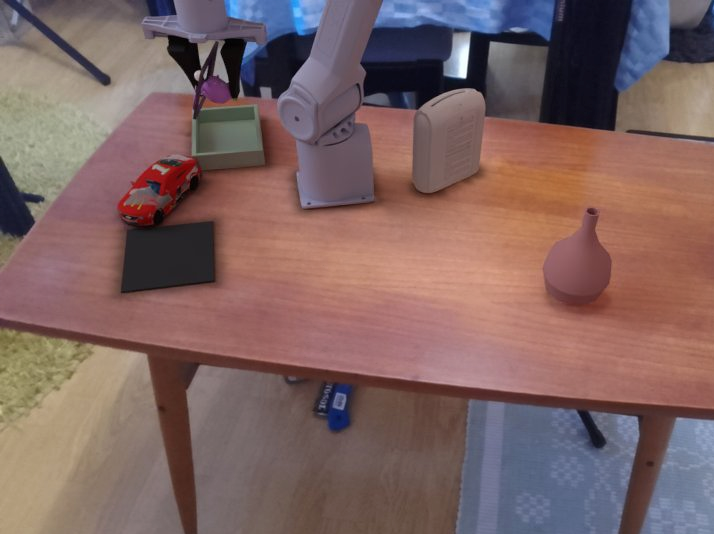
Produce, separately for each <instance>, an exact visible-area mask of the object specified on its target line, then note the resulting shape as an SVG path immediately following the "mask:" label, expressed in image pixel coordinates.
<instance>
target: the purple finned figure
mask: <svg viewBox="0 0 714 534" xmlns="http://www.w3.org/2000/svg"><path fill="white" fill-rule="evenodd" d="M214 41H215V42H214V43H213V45H212V47H211V50H210V51H209V54H208V55H207V57H206V59H205V61H204V63H203V65H201V68H202V70H201V71H200V70H198V71H196V72H195V74H194V77H195V79H196V80H197V81H198V87H197V90H196V86H195V90H194V92H193V99H192V102H193V103H192V109H193V110H194V115H193V119H195V120H196V119H197V117H198V114H199V112H200V110H201V108H203V105H204V104H205V101H206V99H208V101H210V102H212V103H214V104H220V105H221V104H222V105H223V104H226V103H227V102H229V101H230V100H232V101H233V102H234V101H235V102H237V101H239V97H238V98H232V97H231V94H230V88H229V81H228V82H227V81H225V80H223V79H222V78H220V75H219V74H217V75H214V73H215V72H214V71H215V66H216V60H217V56H218V55H217V54H218V49H219V44H220V41H219V40H214ZM205 73H206V77H204V81H203V76H205ZM195 91H196V92H195ZM200 94H201V95H203V97H200ZM200 99H201V100H200Z"/></svg>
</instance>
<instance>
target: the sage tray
mask: <svg viewBox="0 0 714 534" xmlns="http://www.w3.org/2000/svg"><path fill="white" fill-rule="evenodd" d="M193 115H194V110H193V108H192V109H191V157H192V158H194V159H195V160H196V161H197V162H198V164H199V165H200V167H201V171H202V172H204V171H215V170H224V169H226V170H227V169H237V168H247V167H248V168H249V167H259V166H266V160H265V148H264V142H263V134H262V133H263V132H262V123H261V116H260V109H259V104H257V103H256V104H255V103H254V104H242V105H240V104H239V105H228V106H226V105H225V106H214V107H202V108H201V110H200V112H199V114H198V117H197V119H196V120H195V119H193Z"/></svg>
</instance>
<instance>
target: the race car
mask: <svg viewBox="0 0 714 534" xmlns="http://www.w3.org/2000/svg"><path fill="white" fill-rule="evenodd" d="M202 178H203V171H201V167H200V165H199V164H198V162H197V161H196V160H195V159H194V158H192V156H189V155H184V154H181V153H180V154H179V153H173V154H170V155H167V156H165V157H162V158H160V159H159V160H156V161H155V162H154V163H152V164H151V165H150V166H148V167H147V168H146V169H145V170H143V172H142V173H141V174H140V175H139V176H138V177H137V179H136V180H135V182H134V181H133V180H131V181H129V182H130V185H132V186H131V187H130V189H129V190H128V191H127V192H126V193H125V194H124V195H123V197H122V198H121V199H120V200H119V201H118V203H117V208H116V209H117V213H118V215H119V217H120V220H121V221H122V222H123V223H125V224H127V225H129V226H133V227H147V226H148V227H149V226H152V225H160V224H162V222H163V221H164V217H165V216H166V215H168V213H170V212H171V211H172V210H173V209H174V208H175V207H177V205H178V204H179V203H180V202H181V201H182V200H183V199H184V198H186V197H187V195H189V194H190V193H191V191H195V190H197V188H198V187H199V182H201V180H202Z"/></svg>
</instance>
